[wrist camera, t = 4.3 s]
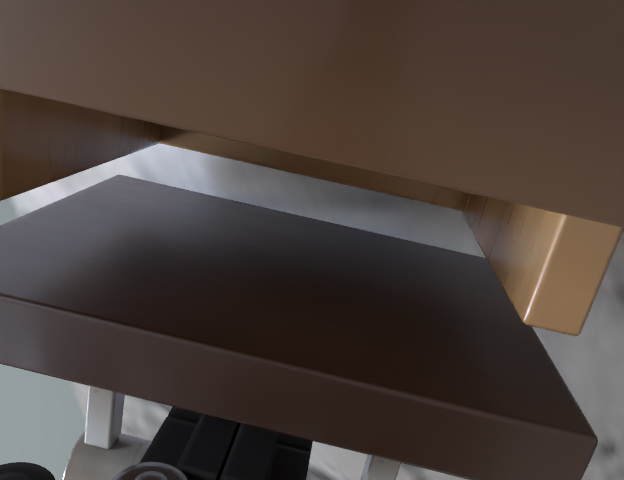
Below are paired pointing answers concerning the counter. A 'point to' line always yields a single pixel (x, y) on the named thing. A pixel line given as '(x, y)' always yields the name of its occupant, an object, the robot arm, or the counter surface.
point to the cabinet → (357, 84)
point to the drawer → (290, 308)
